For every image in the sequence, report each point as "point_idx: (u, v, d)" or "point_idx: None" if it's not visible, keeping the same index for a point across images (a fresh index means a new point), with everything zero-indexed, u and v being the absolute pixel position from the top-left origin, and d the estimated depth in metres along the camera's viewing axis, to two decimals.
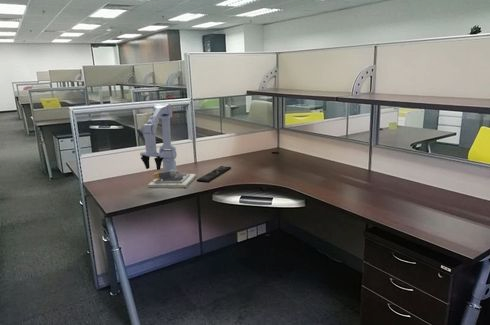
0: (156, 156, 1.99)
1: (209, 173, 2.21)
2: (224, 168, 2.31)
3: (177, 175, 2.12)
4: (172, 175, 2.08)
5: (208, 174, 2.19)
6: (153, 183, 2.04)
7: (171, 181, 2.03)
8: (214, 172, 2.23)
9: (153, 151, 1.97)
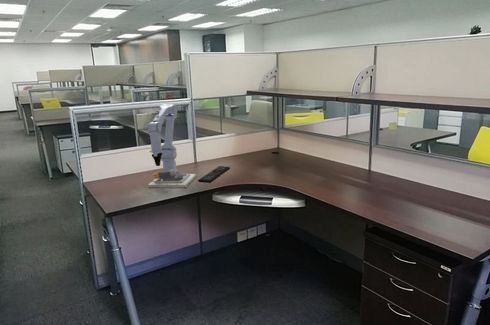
0: None
1: (209, 173, 2.20)
2: (223, 168, 2.31)
3: (177, 175, 2.12)
4: (172, 175, 2.08)
5: (208, 174, 2.19)
6: (153, 183, 2.04)
7: (171, 181, 2.03)
8: (214, 172, 2.23)
9: (153, 149, 2.06)
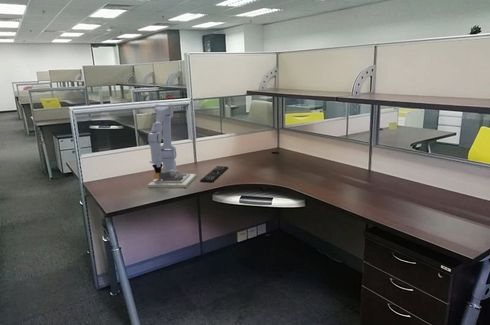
0: (157, 165, 2.03)
1: (210, 173, 2.20)
2: (222, 168, 2.31)
3: (177, 175, 2.12)
4: (172, 175, 2.08)
5: (209, 174, 2.19)
6: (153, 183, 2.04)
7: (171, 181, 2.03)
8: (214, 172, 2.23)
9: (155, 159, 2.03)
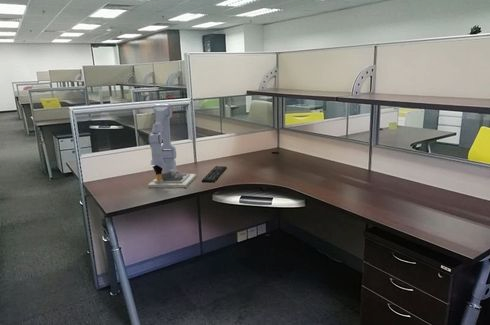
0: (159, 166, 2.01)
1: (210, 173, 2.20)
2: (221, 168, 2.32)
3: (176, 175, 2.13)
4: (173, 175, 2.09)
5: (209, 174, 2.18)
6: (153, 183, 2.04)
7: (171, 181, 2.03)
8: (214, 172, 2.23)
9: (157, 161, 2.00)
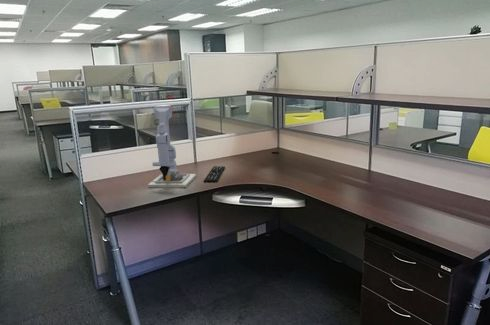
0: (169, 166, 1.99)
1: (210, 173, 2.20)
2: (220, 168, 2.32)
3: None
4: (175, 174, 2.10)
5: (210, 174, 2.18)
6: (153, 183, 2.04)
7: (171, 181, 2.03)
8: (214, 172, 2.23)
9: (166, 161, 1.98)
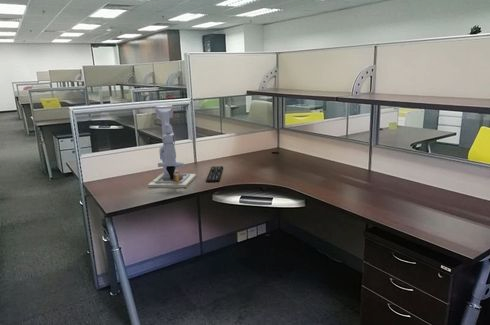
0: (176, 166, 1.99)
1: (210, 173, 2.19)
2: (219, 168, 2.32)
3: None
4: None
5: (210, 174, 2.18)
6: (153, 183, 2.04)
7: (171, 181, 2.03)
8: (214, 172, 2.23)
9: (174, 161, 1.98)
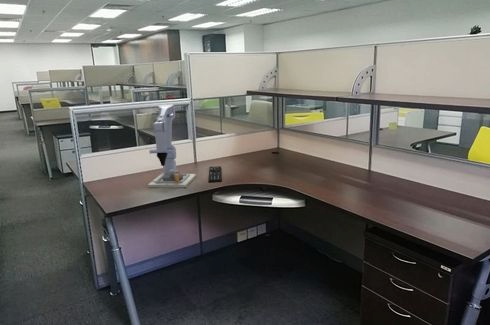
0: (167, 152, 2.09)
1: (211, 173, 2.19)
2: (217, 168, 2.32)
3: None
4: None
5: (211, 174, 2.18)
6: (153, 183, 2.04)
7: (171, 181, 2.03)
8: (213, 172, 2.23)
9: (164, 148, 2.07)
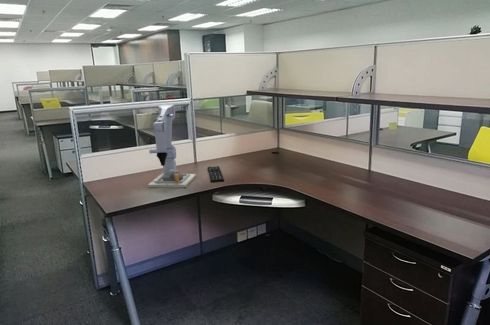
0: (167, 152, 2.09)
1: (211, 174, 2.19)
2: (216, 168, 2.32)
3: None
4: None
5: (212, 175, 2.18)
6: (153, 183, 2.04)
7: (171, 181, 2.03)
8: (213, 172, 2.23)
9: (164, 148, 2.07)
